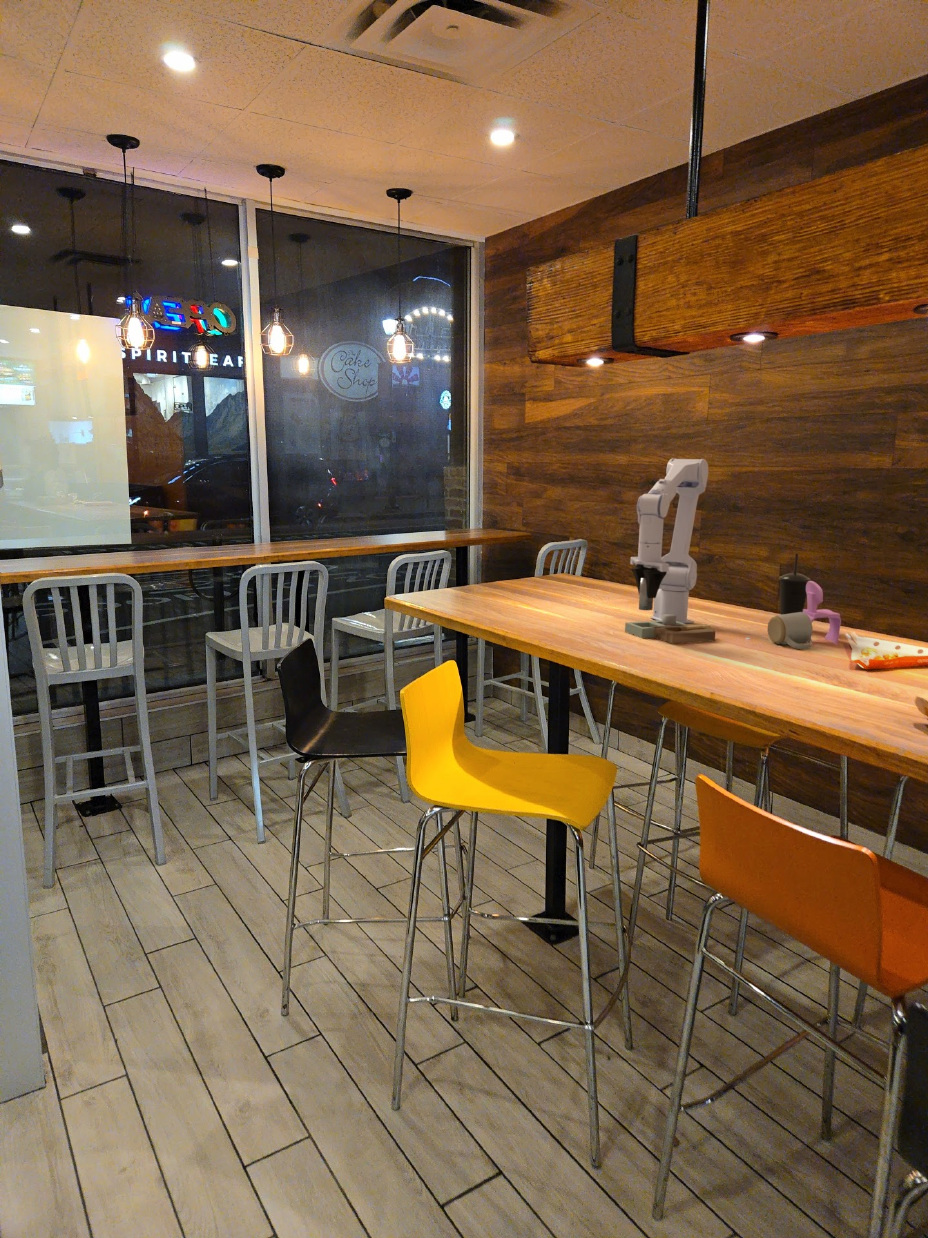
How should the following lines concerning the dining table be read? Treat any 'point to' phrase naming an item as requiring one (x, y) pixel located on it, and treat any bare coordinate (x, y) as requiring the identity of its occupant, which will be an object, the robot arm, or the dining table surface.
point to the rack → (645, 628)
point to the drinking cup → (792, 591)
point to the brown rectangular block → (695, 627)
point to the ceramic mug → (791, 630)
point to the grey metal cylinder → (644, 596)
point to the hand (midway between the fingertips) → (647, 596)
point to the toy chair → (821, 611)
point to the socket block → (683, 634)
